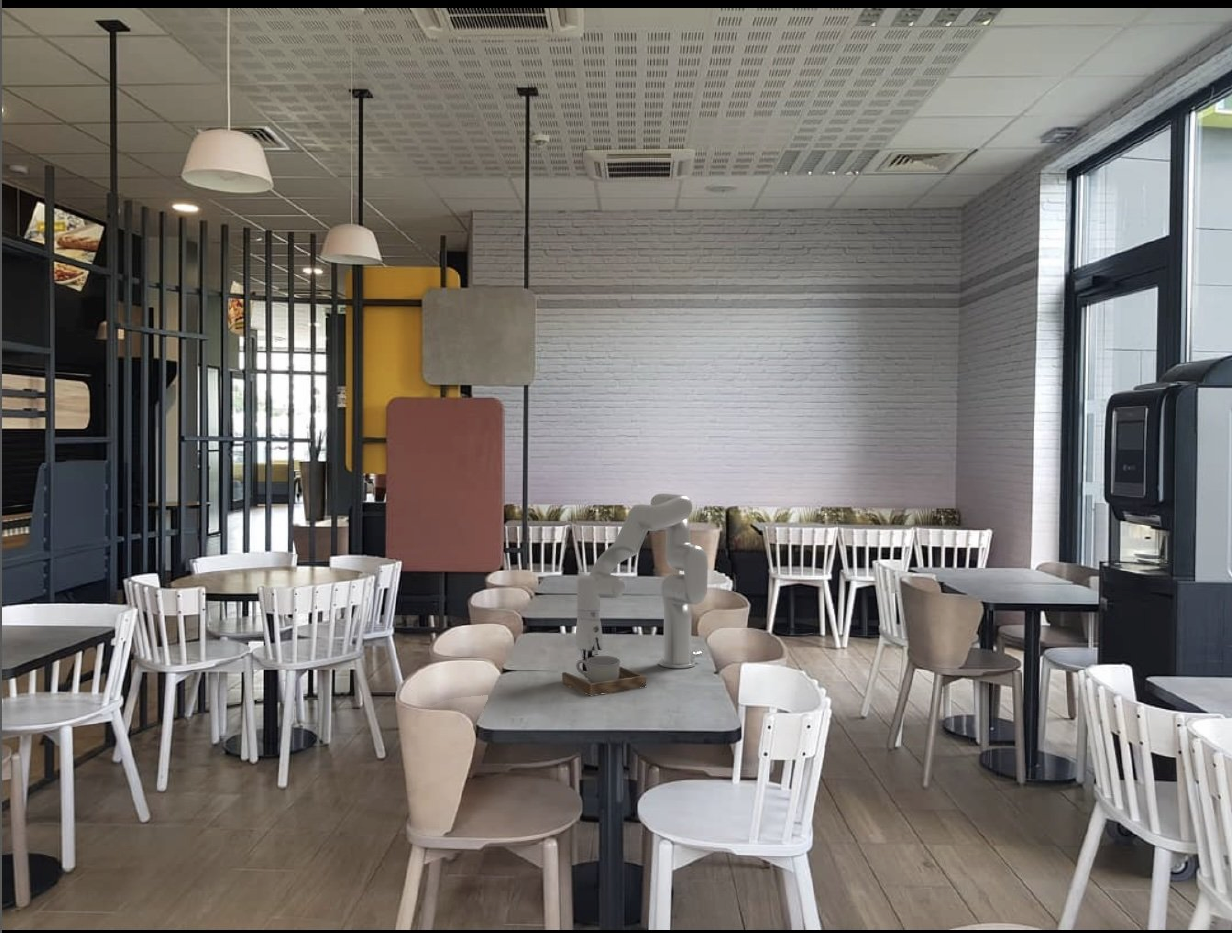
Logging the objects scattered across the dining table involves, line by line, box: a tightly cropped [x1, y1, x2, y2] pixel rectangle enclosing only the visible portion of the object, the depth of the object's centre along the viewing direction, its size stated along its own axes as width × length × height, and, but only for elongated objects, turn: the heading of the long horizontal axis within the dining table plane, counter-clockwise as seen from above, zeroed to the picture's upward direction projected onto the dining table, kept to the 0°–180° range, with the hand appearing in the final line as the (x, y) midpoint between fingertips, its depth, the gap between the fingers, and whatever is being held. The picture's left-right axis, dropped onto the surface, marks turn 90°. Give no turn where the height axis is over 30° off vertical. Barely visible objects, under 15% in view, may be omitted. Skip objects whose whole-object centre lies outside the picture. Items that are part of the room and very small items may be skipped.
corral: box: [561, 666, 647, 696], centre depth 309 cm, size 20×18×4 cm
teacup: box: [575, 655, 621, 683], centre depth 311 cm, size 14×11×8 cm
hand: (587, 670), depth 317 cm, fingers closed
